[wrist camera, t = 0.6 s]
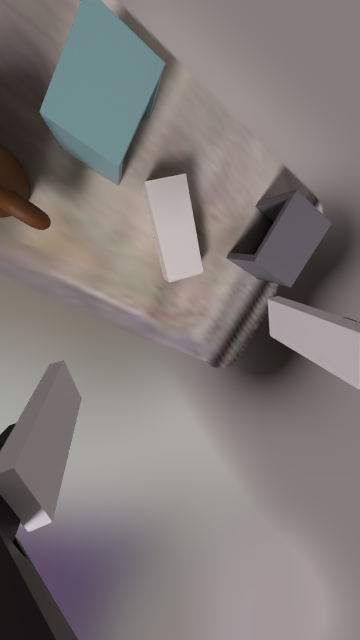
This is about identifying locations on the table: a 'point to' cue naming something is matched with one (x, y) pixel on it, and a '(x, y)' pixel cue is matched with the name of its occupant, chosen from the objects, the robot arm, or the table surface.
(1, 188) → the mug
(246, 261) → the charcoal cap
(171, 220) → the slat
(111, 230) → the table surface
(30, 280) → the table surface
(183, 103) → the table surface
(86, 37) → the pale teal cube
